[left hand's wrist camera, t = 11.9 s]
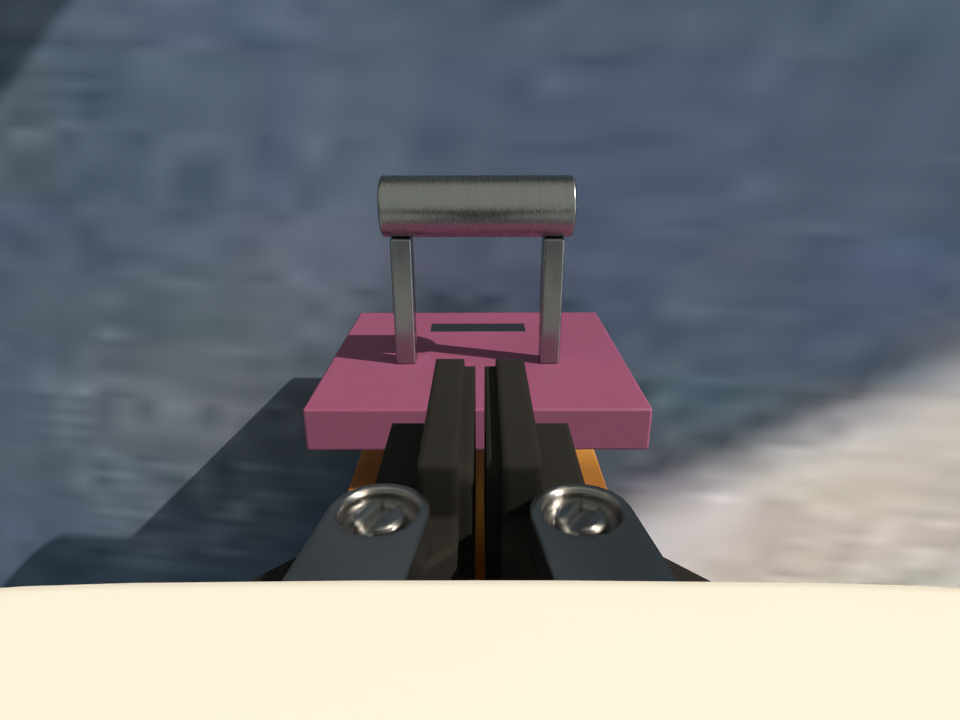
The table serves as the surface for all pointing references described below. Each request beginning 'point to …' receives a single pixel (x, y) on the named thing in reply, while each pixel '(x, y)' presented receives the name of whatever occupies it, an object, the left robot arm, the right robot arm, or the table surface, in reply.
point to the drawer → (476, 334)
